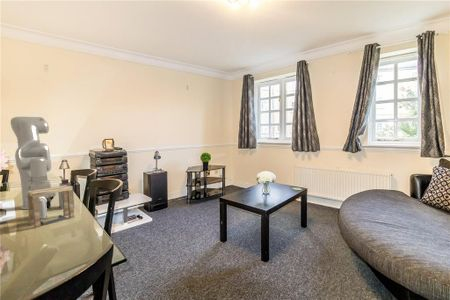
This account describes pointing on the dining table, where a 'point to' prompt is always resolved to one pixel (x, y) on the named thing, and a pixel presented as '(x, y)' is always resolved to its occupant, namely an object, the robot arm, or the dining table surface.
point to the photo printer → (42, 207)
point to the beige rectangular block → (64, 182)
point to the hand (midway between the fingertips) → (41, 209)
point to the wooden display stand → (33, 195)
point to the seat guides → (53, 220)
